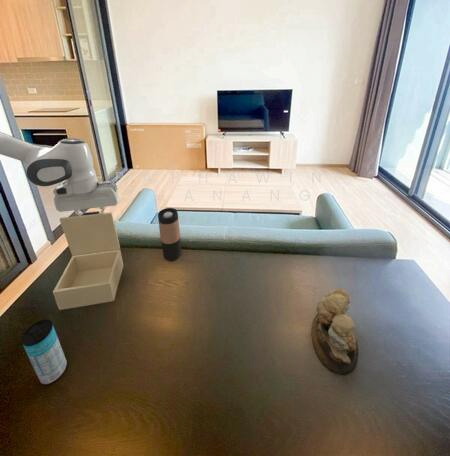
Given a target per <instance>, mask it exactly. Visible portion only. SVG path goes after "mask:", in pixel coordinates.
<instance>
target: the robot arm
mask: <svg viewBox="0 0 450 456" xmlns="http://www.w3.org/2000/svg"><path fill="white" fill-rule="evenodd" d="M0 155H1V156H4V157H8V158H11V159H14V160H17V161H20V162H22V163H24V164H25V165H26V171H25V172H26V177H27V179H28V180H29V182H31V183H32V184H34V185H36V186H38V187H51V186H54V185H56V184H57V185H56V186H55V187H54V188H53V190H52V192H53V195H54V197H53V202H54V207H55V209H56V211H58V212H59V213H62V212H74V214H76V216H83V213H84V212H83V211H82V210H90V209H96V208H98V209H100V210H98V211H99V213H98V214H101V213H105V210H106V208H108V207H116V206H117V205H118V204H119V201H120V195H119V193H118V187H117V183H115V182H113V181H111V180H107V181H99V180H98V176H97V172H96V170H95V168H94V159H93V155H92V152H91V149H90V146H89V144H88V143H87V142H86V141H84V140H83V139H80V138H74V137H73V138H69V137H68V138H65V139H64V138H63V139H60V140H59V141H58V142H57V144H55V145H54V146H53V145H47V144H36V143H32V142H28V141H26V140H23V139H20V138H17V137H14V136H12V135H9V134H7V133H5V132H1V131H0Z"/></svg>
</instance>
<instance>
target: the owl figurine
mask: <svg viewBox="0 0 450 456" xmlns="http://www.w3.org/2000/svg"><path fill="white" fill-rule="evenodd" d="M350 304H351V300H350V297H349V294H348V293H347V292H346V291H345V290H344V289H340V288H339V289H338V288H337V289H334V290H332V289H331V290H328V291H327V293H326V294H325V295H324V297H321V298H320V299H319V300H318V302H317V305H316V307H315V311H316V312H317V313H316V315H315V316H314V318H313V321H312V325H311V339H312V345H313V348H314V351H315V353H316V355H317V357H318V359H319V361H320V362H321V363H322V365H323V366H324V367H325V368H327V369H328V370H329V371H330V372H332V373H335V374H337V375H338V374H339V375H343V376H345V375H350V374H351V373H352V372H353V371H354V370H355V369H356V367H357V364H358V360H359V346H358V341H357V337H356V334H355V332H354V330H355V323H354V321H353V318H352V317H350V316H348V315H347V314H346V312H347V311H348V310H349V309H350Z"/></svg>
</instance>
